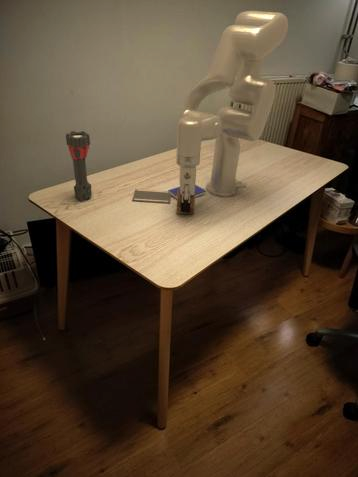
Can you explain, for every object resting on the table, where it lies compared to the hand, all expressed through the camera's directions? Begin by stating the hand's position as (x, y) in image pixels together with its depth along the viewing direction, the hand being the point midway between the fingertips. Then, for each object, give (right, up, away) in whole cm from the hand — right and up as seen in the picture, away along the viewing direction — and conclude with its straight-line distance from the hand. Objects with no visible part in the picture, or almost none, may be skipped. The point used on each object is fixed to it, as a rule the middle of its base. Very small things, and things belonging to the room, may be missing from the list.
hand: (185, 206), depth 116 cm
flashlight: (-37, +4, +6) cm, 38 cm away
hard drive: (+1, +6, +12) cm, 13 cm away
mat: (-12, +5, +9) cm, 16 cm away
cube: (0, -1, +1) cm, 1 cm away
